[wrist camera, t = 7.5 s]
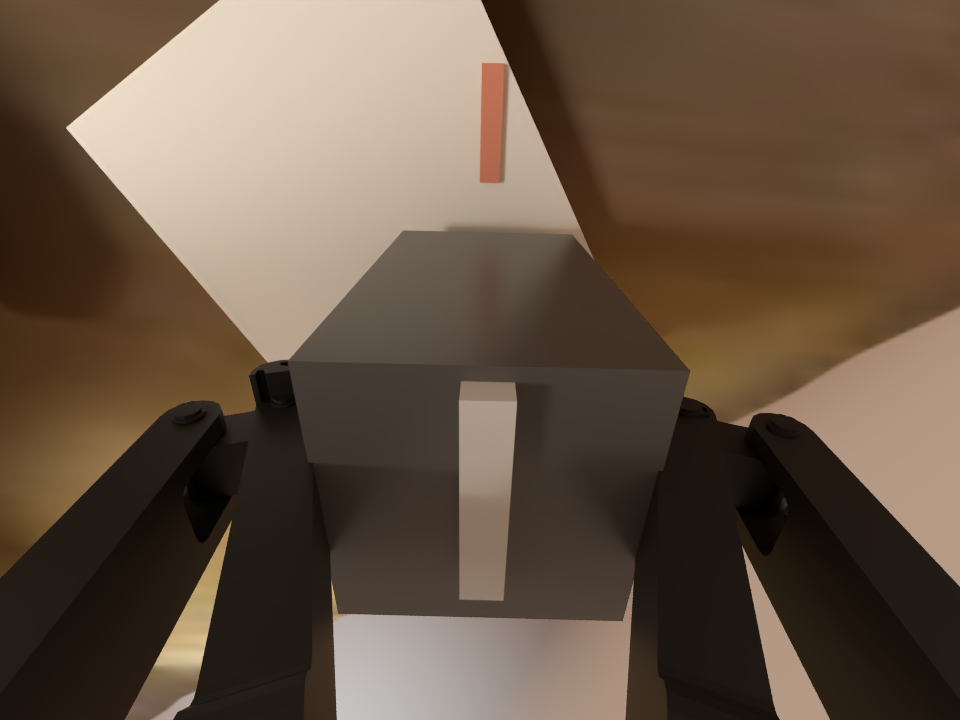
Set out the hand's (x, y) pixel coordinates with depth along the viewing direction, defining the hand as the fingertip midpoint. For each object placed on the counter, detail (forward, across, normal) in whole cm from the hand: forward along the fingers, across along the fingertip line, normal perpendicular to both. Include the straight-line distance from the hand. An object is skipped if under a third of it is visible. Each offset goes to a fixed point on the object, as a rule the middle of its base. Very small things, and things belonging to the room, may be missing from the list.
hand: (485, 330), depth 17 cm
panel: (+5, +5, -2) cm, 7 cm away
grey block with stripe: (+2, 0, 0) cm, 2 cm away
